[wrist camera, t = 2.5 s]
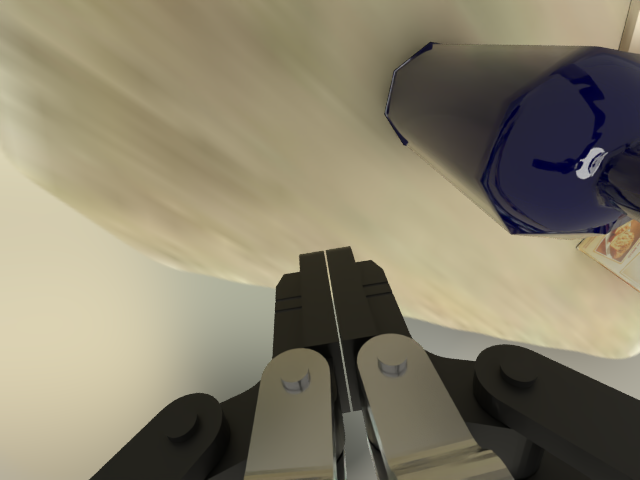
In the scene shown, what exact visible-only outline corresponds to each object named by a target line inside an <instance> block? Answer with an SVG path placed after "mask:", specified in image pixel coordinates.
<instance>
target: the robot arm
mask: <svg viewBox="0 0 640 480" xmlns="http://www.w3.org/2000/svg"><path fill="white" fill-rule="evenodd" d="M326 255H327V261H328V267H329V274H330V280H331V286H332V292H333V299H334V305H335V310H336V316H337V322H338V327H339V333H340V338H341V344H342V350H343V356H344V361H345V367H346V373H347V379H348V384H349V390H350V396H351V401H352V407H353V411H358V410H362V412H363V416H364V422H365V427H366V433H367V442H368V447H369V450H370V454H371V458H372V461H373V465H374V468H375V472H376V476H377V479H378V480H640V400H638V399H635V398H633V397H631V396H629V395H627V394H625V393H622V392H620V391H618V390H616V389H614V388H612V387H609V386H607V385H605V384H603V383H600V382H599V381H597V380H594V379H592V378H590V377H588V376H586V375H584V374H581V373H579V372H577V371H575V370H573V369H571V368H568V367H566V366H564V365H562V364H560V363H558V362H556V361H553V360H551V359H549V358H547V357H545V356H543V355H540V354H538V353H536V352H534V351H532V350H529V349H527V348H523V347H520V346H515V345H505V344H503V345H495V346H491V347H489V348H486V349H485V350H483V351H482V352H481V353H480V354H479V356H478V357H477V359H476V361H468V360H459V359H450V358H444V357H440V356H437V355H434V354H432V353H429V352H428V351H426V350H424V349H423V347H422V346H421V345H420V344H419V343H417V342H416V341H415V340H413V338H412V337H411V335H410V333H409V331H408V328H407V326H406V324H405V321H404V319H403V316H402V314H401V312H400V309H399V307H398V304H397V302H396V300H395V297H394V295H393V294H392V290H391V288H390V285H389V284H388V281H387V278H386V276H385V273H384V271H383V269H382V268H381V267H379V266H378V265H377V264H376V263H374V262H373V261H372V260H368V261H362V262H356V263H355V260H354V256H353V253H352V250H351V247H350V246H348V247H342V248H336V249H330V250H326ZM299 261H300V272H296V273H290V274H284V275H283V277H282V278H281V280H280V282H279V283H278V285H277V286H276V303H275V319H274V341H273V357H272V360H271V361H270V362H269V364H268V365H267V366H266V368H265V369H264V371H263V374H262V377H261V380H260V381H259V382H258V383H257V384H256V385H255V386H253V387H252V388H250V389H249V390H247V391H245V392H243V393H241V394H239V395H237V396H235V397H233V398H230V399H228V400H226V401H224V402H222V403H220V404H219V402H218V401H217V400H216V399H215V398H214V397H213V396H211V395H208V394H204V393H195V394H189V395H185V396H183V397H180V398H178V399H177V400H175V401H173V402H172V403H170V404H169V405H167V406H166V407H165V408H164V409H163V410H161V411H160V412H159V413H158V414H157V415H156V416H155V417H154V418H153V419H152V420H151V421H150V422H149V423H148V424H147V425H146V426H145V427H144V428H143V429H142V430H141V431H140V432H139V433H137V434H136V435H135V436H134V437H133V438H132V439H131V440H130V441H129V442H128V443H127V444H126V445H125V446H124V447H123V448H122V449H121V450H120V451H119V452H118V453H117V454H115V455H114V456H113V458H111V459H110V460H109V461H108V462H107V463H106V464H105V465H104V466H103V467H102V468H101V469H100V470H99V471H98V472H97V473H96V474H95V475H94V476H93V477H92V478H90V479H89V480H347V474H346V459H345V447H344V445H345V430H344V424H343V416H342V413H346V412H350V406H349V400H348V394H347V387H346V381H345V375H344V369H343V363H342V357H341V350H340V344H339V338H338V332H337V326H336V321H335V315H334V309H333V303H332V297H331V291H330V285H329V279H328V273H327V267H326V261H325V256H324V251H319V252H312V253H306V254H300V255H299Z"/></svg>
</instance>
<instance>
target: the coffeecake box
mask: <svg viewBox="0 0 640 480" xmlns="http://www.w3.org/2000/svg"><path fill="white" fill-rule="evenodd" d="M577 249H578V250H580V251H582V252H584V253H585V254H587V255H588V256H589V257H591V258H592V259H594V260H595V261H597V262H598V263H599V264H601V265H602V266H604V267H605V268H606V269H608V270H609V271H611V272H612V273H613V274H615V275H616V276H618V277H619V278H620V279H622V280H623V281H625V282H626V283H627V284H629V285H630V286H631V287H633V288H634V289H636V290H637V291H638V292H640V222H638V221H636V220H634V219H633V220H631V221H629V222H627V223H625V224H624V225H622V226H620V227H618V228H617V229H615V230H613V231H611V232H609V233H608V234H606V235H600V236H594V237H587V238H585V239H584V240H583V241H582V242H581V243H580V244H579V245H578V247H577Z"/></svg>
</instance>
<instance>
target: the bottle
mask: <svg viewBox="0 0 640 480" xmlns="http://www.w3.org/2000/svg"><path fill="white" fill-rule="evenodd" d="M384 114H385V116H386V118H387V119H388V121H389V122H390V124H391V126H392V127H393V129H394V130H395V132H396V134H397V135H398V137H399V138H400V140H401V142H402V143H403V145H405V146H408V147H409V148H410V149H411V150H412V151H414V152H415V153H416V154H417V155H418V156H419V157H421V158H422V159H423V160H424V161H425V162H426V163H428V164H429V165H430V166H431V167H432V168H433V169H435V170H436V171H437V172H438V173H439V174H441V175H442V176H443V177H444V178H445V179H446V180H448V181H449V182H450V183H451V184H452V185H453V186H455V187H456V188H457V189H458V190H459V191H460V192H462V193H463V194H464V195H465V196H466V197H467V198H469V199H470V200H471V201H472V202H473V203H474V204H476V205H477V206H478V207H479V208H480V209H482V210H483V211H484V212H485V213H486V214H487V215H489V216H490V217H491V218H492V219H493V220H494V221H496V222H497V223H498V224H499V225H500V226H501V227H503V228H504V229H505V230H506V231H508V232H509V233H510V234H512V235H523V236H533V237H544V238H555V239H566V240H575V239H581V238H587V237H594V236H600V235H606V234H608V233H609V232H611V231H613V230H615V229H617V228H618V227H620V226H622V225H624V224H625V223H627V222H629V221H631V220H633V219H634V220H636V221H638V222H640V54H636V53H631V52H625V51H620V50H614V49H609V48H603V47H595V46H542V45H474V44H440V43H434V42H429V43H428V44H427V45H426V46H424V47H423V48H422V49H421V50H419V51H418V52H417V53H416V54H414V55H413V56H412V57H411V58H409V59H408V60H407V61H406V62H404V63H403V64H402V65H401V66H399V67H398V68H397V69H395V70H394V72H393V77H392V81H391V86H390V91H389V95H388V100H387V104H386V109H385V113H384Z"/></svg>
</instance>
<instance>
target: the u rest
mask: <svg viewBox="0 0 640 480" xmlns="http://www.w3.org/2000/svg"><path fill="white" fill-rule="evenodd" d="M619 50H620V51H625V52H631V53H636V54H640V0H632V1H631V5H630V9H629V13H628V17H627V20H626V24H625V28H624V32H623V36H622V40H621V44H620V48H619Z"/></svg>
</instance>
